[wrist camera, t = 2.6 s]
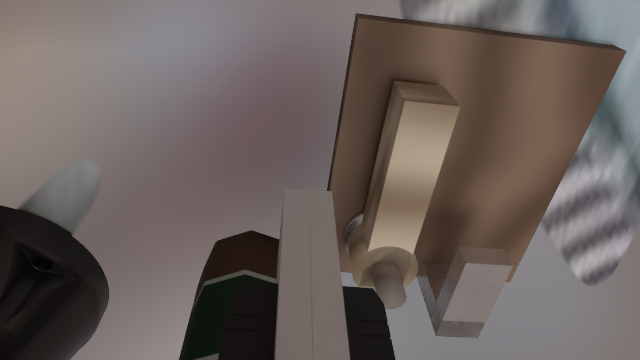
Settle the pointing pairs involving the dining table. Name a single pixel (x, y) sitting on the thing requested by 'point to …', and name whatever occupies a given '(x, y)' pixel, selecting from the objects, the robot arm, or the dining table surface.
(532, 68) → the base plate
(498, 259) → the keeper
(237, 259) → the beer bottle
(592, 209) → the dining table surface
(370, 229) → the link
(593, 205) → the dining table surface
